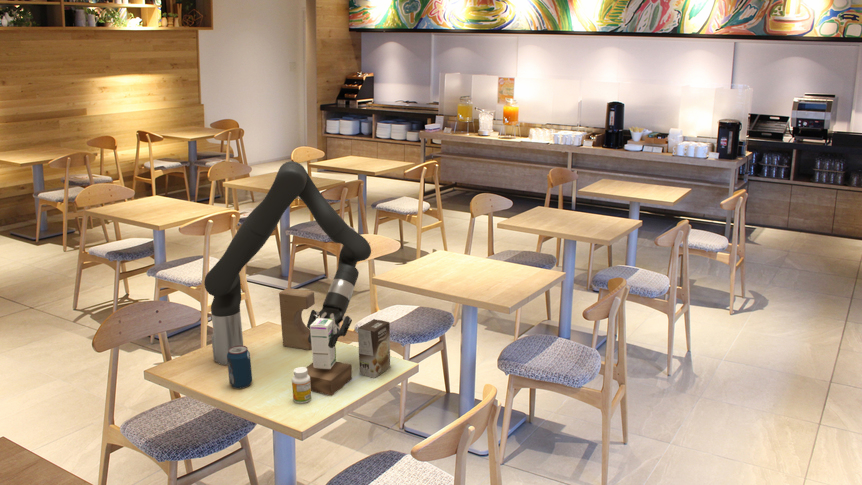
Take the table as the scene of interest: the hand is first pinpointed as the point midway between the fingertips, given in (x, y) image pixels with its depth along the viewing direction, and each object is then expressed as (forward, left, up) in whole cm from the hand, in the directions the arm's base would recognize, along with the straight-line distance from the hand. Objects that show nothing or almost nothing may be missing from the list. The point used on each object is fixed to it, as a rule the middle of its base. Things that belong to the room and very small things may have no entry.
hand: (320, 344), depth 221 cm
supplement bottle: (-1, -10, -14) cm, 17 cm away
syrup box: (0, +2, -8) cm, 8 cm away
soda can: (-24, -9, -14) cm, 29 cm away
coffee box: (+10, +16, -14) cm, 23 cm away
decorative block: (-24, +23, -14) cm, 36 cm away
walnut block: (0, +2, -14) cm, 14 cm away
